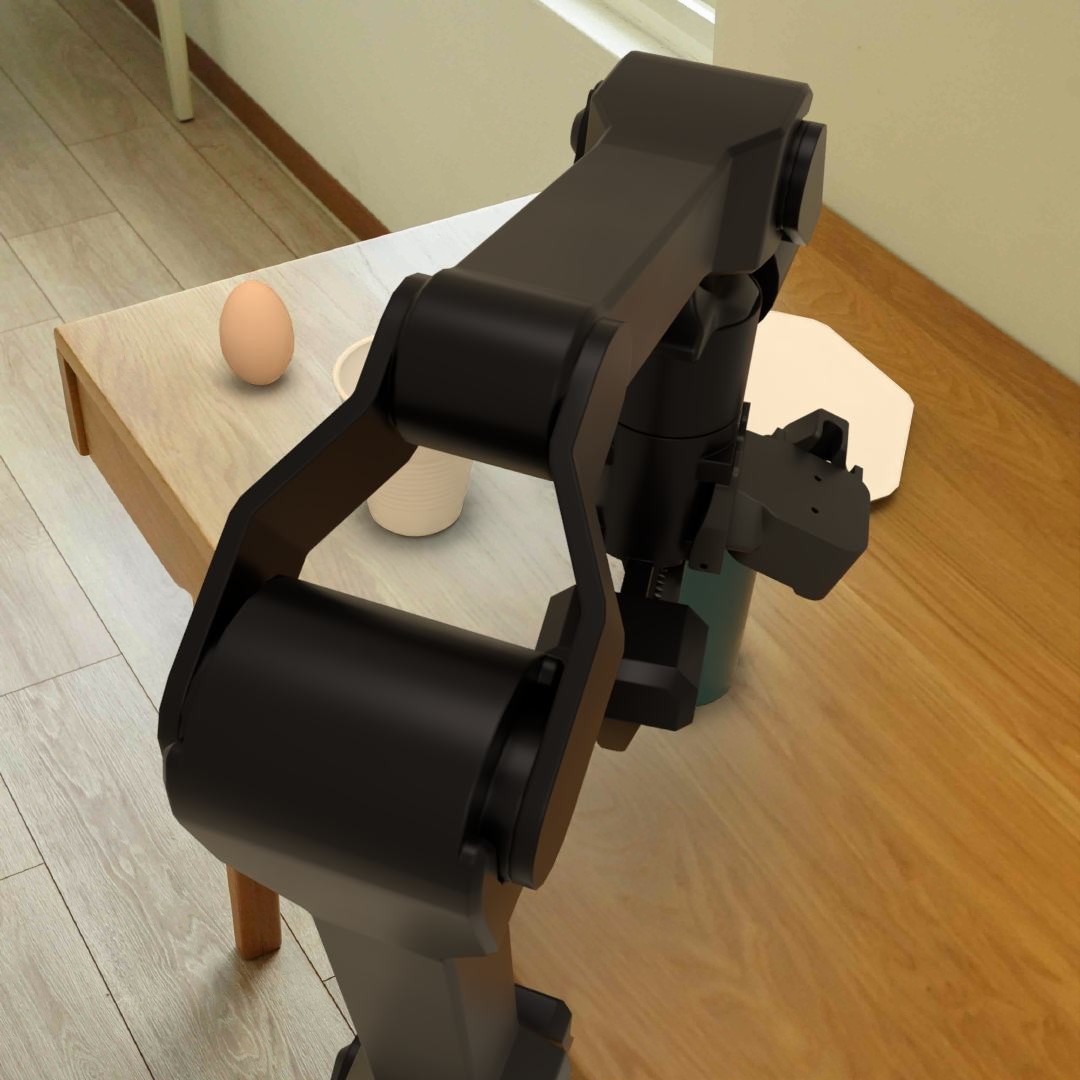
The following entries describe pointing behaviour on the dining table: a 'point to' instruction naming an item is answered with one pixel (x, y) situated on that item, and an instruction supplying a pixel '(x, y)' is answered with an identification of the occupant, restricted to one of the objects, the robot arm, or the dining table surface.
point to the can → (719, 620)
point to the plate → (829, 394)
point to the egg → (256, 333)
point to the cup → (409, 470)
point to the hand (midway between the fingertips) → (630, 670)
